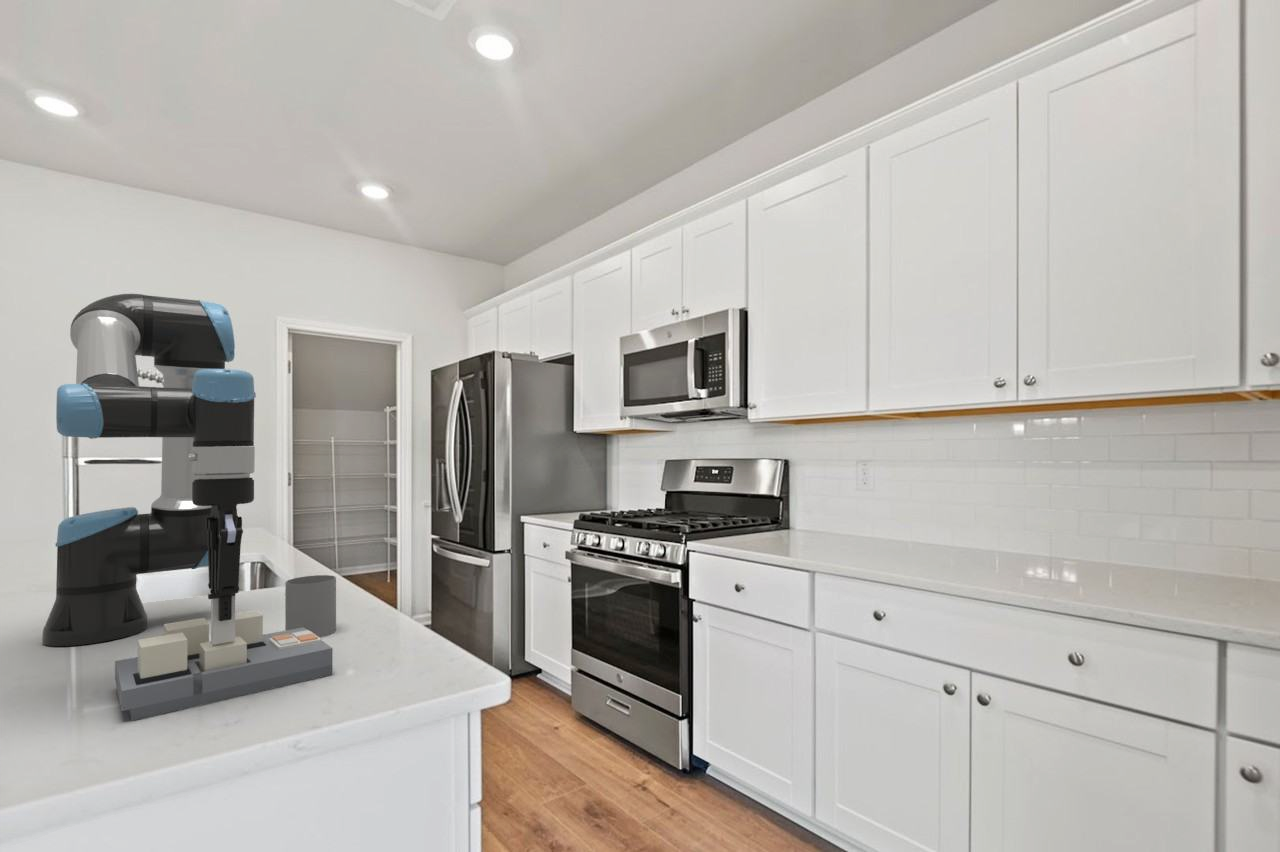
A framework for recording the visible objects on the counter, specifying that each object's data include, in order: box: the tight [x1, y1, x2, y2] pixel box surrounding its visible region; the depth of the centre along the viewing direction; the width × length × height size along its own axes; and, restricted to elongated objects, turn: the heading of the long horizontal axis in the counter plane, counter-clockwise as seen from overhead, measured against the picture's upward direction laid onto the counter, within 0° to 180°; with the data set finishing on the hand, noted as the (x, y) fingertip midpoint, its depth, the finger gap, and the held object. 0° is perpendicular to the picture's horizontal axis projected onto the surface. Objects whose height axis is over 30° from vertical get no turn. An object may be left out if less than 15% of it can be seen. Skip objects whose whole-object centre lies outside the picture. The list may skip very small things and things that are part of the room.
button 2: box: [163, 617, 210, 655], centre depth 96 cm, size 5×5×4 cm
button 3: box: [199, 636, 247, 672], centre depth 93 cm, size 5×5×4 cm
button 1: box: [137, 632, 187, 679], centre depth 88 cm, size 5×5×4 cm
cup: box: [284, 574, 337, 638], centre depth 121 cm, size 8×8×10 cm
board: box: [114, 627, 333, 722], centre depth 96 cm, size 16×25×5 cm, turn 131°
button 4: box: [235, 609, 264, 644], centre depth 101 cm, size 5×5×4 cm
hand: (223, 641), depth 93 cm, fingers closed
